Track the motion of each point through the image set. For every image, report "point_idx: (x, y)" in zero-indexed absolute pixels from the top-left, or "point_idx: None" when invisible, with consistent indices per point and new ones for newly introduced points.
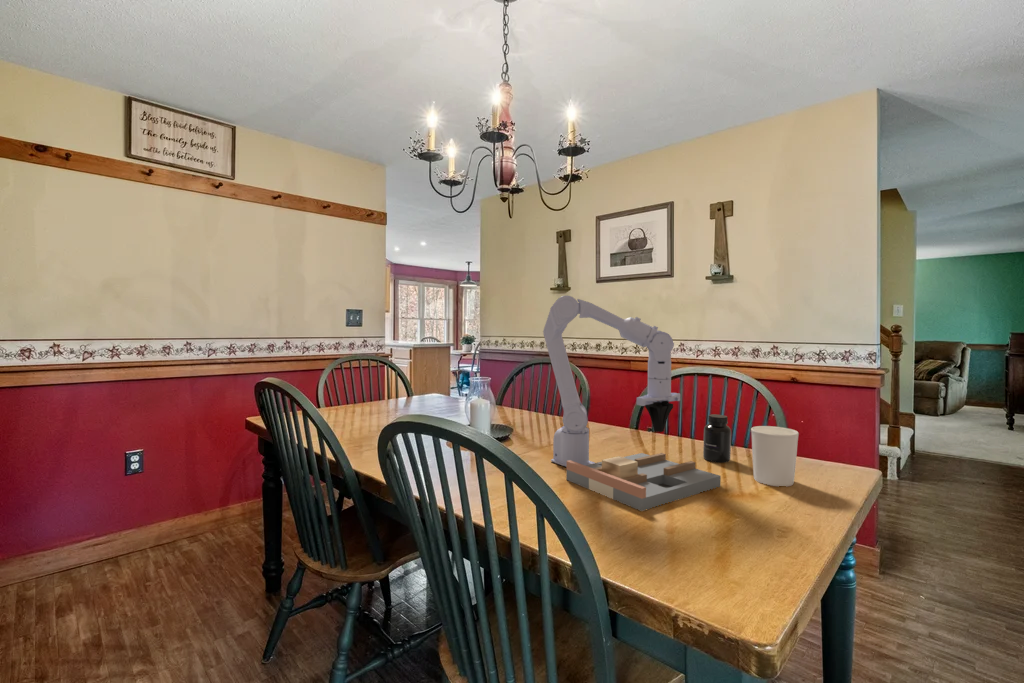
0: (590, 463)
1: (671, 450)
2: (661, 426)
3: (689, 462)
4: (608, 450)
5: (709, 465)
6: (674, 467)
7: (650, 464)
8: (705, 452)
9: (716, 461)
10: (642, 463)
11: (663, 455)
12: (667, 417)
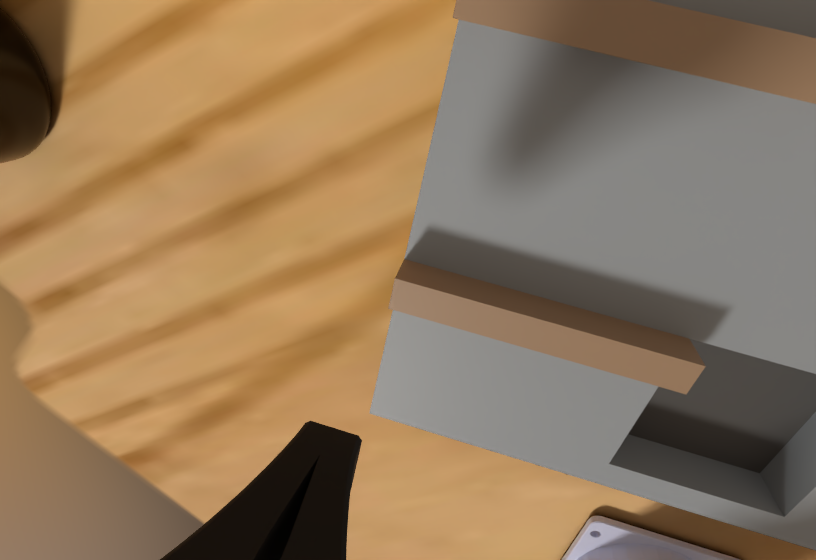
0: (618, 537)
1: (83, 336)
2: (342, 479)
3: (516, 4)
4: None
5: (120, 52)
6: (802, 38)
7: (588, 294)
8: (10, 134)
9: (27, 42)
10: (651, 333)
11: (420, 281)
12: (191, 542)
